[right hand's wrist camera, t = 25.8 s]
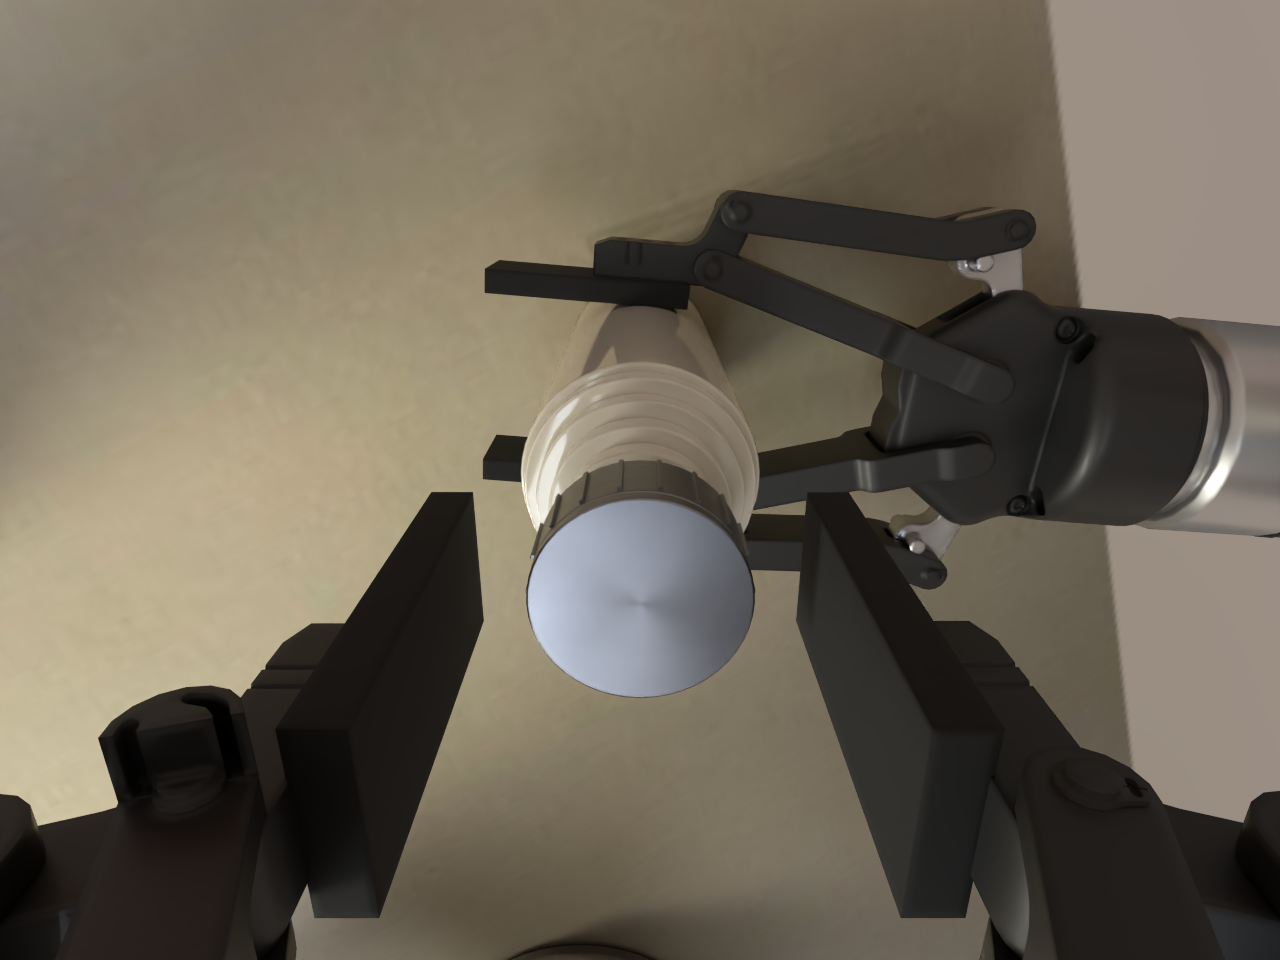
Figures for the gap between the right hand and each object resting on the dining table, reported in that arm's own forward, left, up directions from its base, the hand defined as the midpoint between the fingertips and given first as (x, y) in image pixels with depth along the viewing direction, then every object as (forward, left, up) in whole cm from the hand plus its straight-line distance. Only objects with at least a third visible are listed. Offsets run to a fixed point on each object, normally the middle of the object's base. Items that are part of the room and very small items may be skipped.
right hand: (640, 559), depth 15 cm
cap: (0, 0, +1) cm, 1 cm away
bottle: (0, 0, -20) cm, 20 cm away
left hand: (-1, +5, -14) cm, 15 cm away
